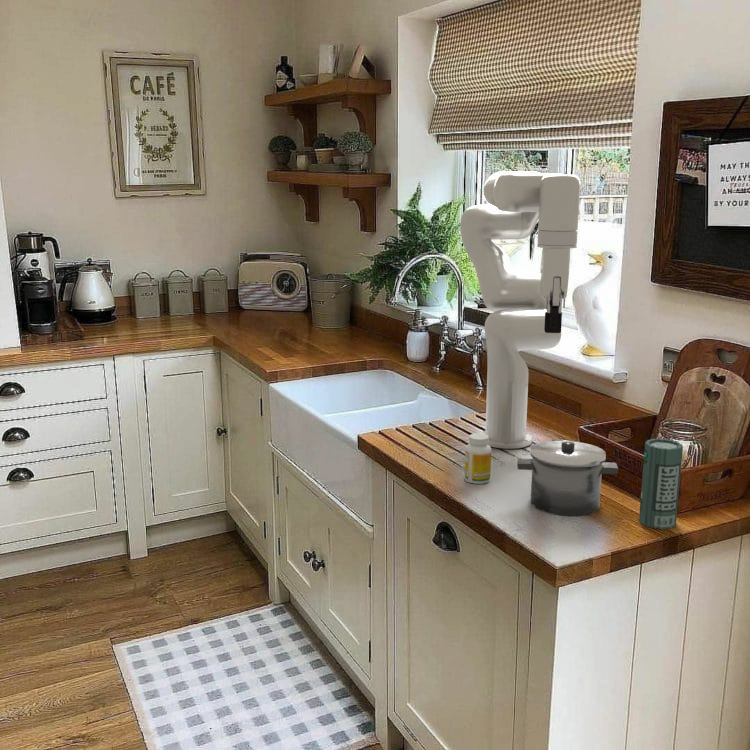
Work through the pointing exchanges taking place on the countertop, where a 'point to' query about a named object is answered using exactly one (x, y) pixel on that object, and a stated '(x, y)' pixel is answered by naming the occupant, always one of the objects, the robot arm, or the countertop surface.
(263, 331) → the countertop surface
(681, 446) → the can
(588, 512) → the pot
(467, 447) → the supplement bottle
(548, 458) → the lid
